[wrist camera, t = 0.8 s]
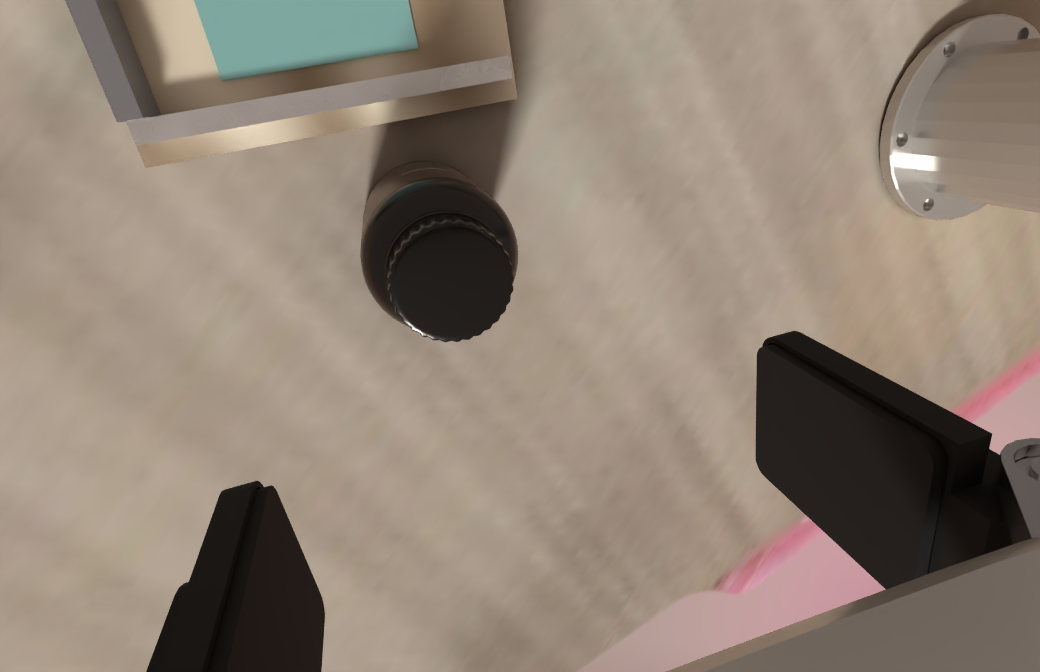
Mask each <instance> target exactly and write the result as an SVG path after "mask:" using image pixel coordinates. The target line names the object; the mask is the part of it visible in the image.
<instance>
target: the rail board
mask: <svg viewBox="0 0 1040 672" xmlns="http://www.w3.org/2000/svg"><path fill="white" fill-rule="evenodd" d="M65 1H66V3H67V6H68V8H69V11H70V13H71V15H72V18H73V20H74V22H75V25H76V27H77V29H78V32H79V34H80V36H81V39H82V41H83V43H84V46H85V48H86V50H87V53H88V55H89V57H90V60H91V62H92V64H93V67H94V69H95V71H96V74H97V76H98V78H99V81H100V83H101V85H102V88H103V90H104V92H105V95H106V97H107V99H108V102H109V104H110V106H111V109H112V111H113V114H114V116H115V118H116V121H117V122H127V125H128V127H129V129H130V132H131V134H132V137H133V139H134V141H135V144H136V146H137V148H138V151H139V153H140V156H141V158H142V160H143V163H144V165H145V167H146V168H147V167H153V166H158V165H163V164H169V163H174V162H180V161H185V160H190V159H196V158H201V157H207V156H212V155H217V154H223V153H228V152H234V151H239V150H244V149H250V148H255V147H260V146H266V145H271V144H277V143H282V142H287V141H293V140H298V139H304V138H309V137H314V136H320V135H325V134H331V133H336V132H341V131H347V130H352V129H357V128H363V127H368V126H374V125H379V124H384V123H390V122H395V121H401V120H406V119H411V118H417V117H422V116H428V115H433V114H438V113H444V112H449V111H454V110H460V109H465V108H471V107H476V106H481V105H487V104H492V103H498V102H503V101H508V100H514V99H518V96H517V89H516V83H515V76H514V69H513V63H512V56H511V50H510V43H509V36H508V30H507V23H506V16H505V10H504V3H503V0H65Z"/></svg>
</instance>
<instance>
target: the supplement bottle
mask: <svg viewBox="0 0 1040 672" xmlns="http://www.w3.org/2000/svg"><path fill="white" fill-rule="evenodd" d="M361 265H362V271H363V275H364V278H365V282H366V284H367V286H368V289H369V291H370V293H371V294H372V296H373V297H374V299H375V300H376V302H377V303H378V304H379V305H380V307H381V308H382V309H383V310H384V311H385V312H386V313H388V314H389V315H390V316H391V317H393V318H394V319H396V320H397V321H399V322H400V323H402V324H404V325H406V326H409V327H410V328H411V329H412V330H413V331H416V332H419V333H420V335H422V336H423V337H429V338H431V339H432V340H441V341H444V342H448V341H455V342H458V341H460V340H462V339H465V340H469V339H471V338H472V337H473V336H478V335H480V334H481V333H482V332H483V331H484V330H488V329H490V328H491V326H492V324H493V323H495V322H497V321H498V320H499V318H500V315H501V314H503V313H504V312H505V310H506V305H507V304H508V303H509V302H510V295H511V293H512V291H513V285H512V284H513V282H514V279H515V276H516V271H517V265H518V245H517V240H516V236H515V232H514V229H513V227H512V224H511V222H510V221H509V219H508V217H507V215H506V214H505V212H504V211H503V209H502V208H501V207H500V206H499V204H498V203H497V202H496V201H495V200H494V199H493V198H492V197H491V196H489V195H488V194H487V193H486V192H485V191H483V190H482V189H481V188H480V187H479V186H477V185H476V184H475V183H474V182H473V181H471V180H470V179H469V178H468V177H466V176H465V175H464V174H462V173H461V172H459V171H458V170H456V169H454V168H452V167H450V166H448V165H445V164H442V163H437V162H431V161H418V162H412V163H407V164H404V165H402V166H399V167H397V168H395V169H393V170H392V171H390V172H389V173H387V174H386V175H385V176H384V177H383V178H382V179H381V180H380V181H379V182H378V183H377V184H376V186H375V187H374V188H373V190H372V192H371V193H370V195H369V198H368V200H367V203H366V206H365V210H364V216H363V226H362V239H361Z"/></svg>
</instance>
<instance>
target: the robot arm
mask: <svg viewBox="0 0 1040 672" xmlns="http://www.w3.org/2000/svg"><path fill="white" fill-rule="evenodd" d="M880 166H881V171H882V176H883V180H884V183H885V185H886V187H887V189H888V192H889V194H890V195H891V196H892V198H893V199H894V200H895V202H896V203H897V204H898V205H899V206H900V207H902V208H903V209H904V210H906V211H907V212H908V213H911V214H914V215H916V216H919V217H923V218H928V219H934V220H951V219H955V218H959V217H963V216H966V215H968V214H970V213H972V212H975V211H977V210H979V209H980V208H982V207H983V206H985V205H986V204H989V205H995V206H1001V207H1007V208H1013V209H1019V210H1025V211H1031V212H1037V213H1040V33H1039V32H1038V31H1037V30H1036V28H1035V27H1034V26H1033V25H1032V24H1031V23H1029V22H1027V21H1026V20H1024V19H1022V18H1021V17H1018V16H1013V15H1009V14H990V15H984V16H978V17H973V18H968V19H966V20H964V21H961V22H959V23H957V24H954V25H952V26H951V27H949V28H948V29H946V30H945V31H943V32H942V33H940V34H939V35H938V36H936V37H935V38H934V39H933V40H932V41H931V42H930V43H929V44H928V45H927V46H926V47H924V48H923V49H922V50H921V52H920V53H919V54H918V55H917V57H916V58H915V59H914V60H913V62H912V63H911V64H910V65H909V67H908V68H907V70H906V71H905V73H904V75H903V76H902V78H901V80H900V81H899V83H898V85H897V86H896V89H895V91H894V93H893V96H892V98H891V100H890V103H889V105H888V108H887V111H886V115H885V119H884V122H883V126H882V132H881V140H880ZM991 437H992V433H990V432H988V431H986V430H984V429H982V428H980V427H978V426H976V425H974V424H973V423H971V422H969V421H967V420H965V419H963V418H961V417H959V416H957V415H956V414H954V413H952V412H950V411H948V410H946V409H944V408H942V407H940V406H938V405H937V404H935V403H933V402H931V401H929V400H927V399H925V398H923V397H921V396H920V395H918V394H916V393H914V392H912V391H910V390H908V389H906V388H904V387H902V386H901V385H899V384H897V383H895V382H893V381H891V380H889V379H887V378H885V377H884V376H882V375H880V374H878V373H876V372H874V371H872V370H870V369H868V368H866V367H865V366H863V365H861V364H859V363H857V362H855V361H853V360H851V359H849V358H848V357H846V356H844V355H842V354H840V353H838V352H836V351H834V350H832V349H830V348H829V347H827V346H825V345H823V344H821V343H819V342H817V341H815V340H813V339H812V338H810V337H808V336H806V335H804V334H802V333H800V332H797V331H791V332H788V333H784V334H781V335H777V336H773V337H770V338H767V339H766V340H765V341H764V343H763V347H761V348H760V349H759V350H758V352H757V390H756V462H757V465H758V468H759V470H760V471H761V473H762V474H763V475H764V476H765V477H766V478H767V479H768V480H769V481H770V482H771V483H772V484H773V485H774V486H775V487H776V488H778V489H779V490H780V491H781V492H782V493H783V494H784V495H785V496H786V497H787V498H788V499H789V500H790V501H792V502H793V503H794V504H795V505H796V506H797V507H798V508H799V509H800V510H801V511H802V512H803V513H804V514H805V515H807V516H808V517H809V518H810V519H811V520H812V521H813V522H814V523H815V524H816V525H817V526H818V527H819V528H821V529H822V530H823V531H824V532H825V533H826V534H827V535H828V536H829V537H830V538H832V539H833V541H835V542H836V543H837V544H838V545H839V546H840V547H841V548H842V549H843V550H844V551H846V553H847V554H849V555H850V556H851V557H852V558H853V559H854V560H855V561H856V562H857V563H858V564H859V565H860V566H861V567H863V568H864V569H865V570H866V571H867V572H868V573H869V574H870V575H871V576H872V577H873V578H874V579H876V580H877V581H878V582H879V583H880V584H881V585H882V586H883V587H884V588H885V589H886V590H884V591H881V592H879V593H876V594H873V595H871V596H868V597H865V598H862V599H859V600H857V601H854V602H851V603H849V604H846V605H843V606H841V607H838V608H835V609H832V610H830V611H827V612H824V613H822V614H819V615H816V616H813V617H811V618H808V619H805V620H802V621H800V622H797V623H794V624H792V625H789V626H786V627H784V628H781V629H778V630H776V631H773V632H770V633H768V634H765V635H763V636H760V637H757V638H755V639H752V640H749V641H746V642H744V643H741V644H738V645H736V646H733V647H730V648H728V649H725V650H722V651H720V652H717V653H715V654H712V655H709V656H706V657H704V658H701V659H698V660H696V661H693V662H691V663H688V664H685V665H683V666H680V667H677V668H675V669H672V670H670V671H667V672H1040V439H1039V438H1038V439H1037V438H1030V439H1022V440H1016V441H1014V442H1012V443H1010V444H1007V445H1006V446H1005V447H1004V448H1003V450H1002V451H1001V454H1000V455H999V454H997V453H995V452H993V451H992V450H990V449H989V446H990V441H991ZM324 622H325V612H324V604H323V600H322V597H321V594H320V592H319V589H318V587H317V585H316V582H315V580H314V578H313V575H312V573H311V570H310V568H309V566H308V563H307V561H306V559H305V556H304V554H303V552H302V549H301V547H300V545H299V542H298V540H297V538H296V535H295V533H294V531H293V528H292V526H291V524H290V521H289V519H288V516H287V514H286V512H285V509H284V507H283V505H282V502H281V500H280V498H279V495H278V493H277V491H276V489H275V488H274V487H273V486H268V487H263V485H262V484H261V483H260V482H259V481H254V482H251V483H247V484H244V485H240V486H236V487H233V488H229V489H226V490H223V491H222V492H221V494H220V496H219V498H218V501H217V504H216V507H215V510H214V513H213V515H212V518H211V521H210V524H209V527H208V530H207V532H206V535H205V538H204V541H203V544H202V547H201V549H200V552H199V555H198V558H197V561H196V564H195V566H194V569H193V572H192V575H191V578H190V580H189V582H187V583H184V584H183V585H182V586H181V587H179V589H178V591H177V592H176V594H175V596H174V599H173V602H172V604H171V607H170V610H169V612H168V615H167V618H166V620H165V623H164V626H163V628H162V631H161V634H160V636H159V639H158V642H157V644H156V647H155V650H154V653H153V655H152V658H151V661H150V663H149V666H148V669H147V671H146V672H321V667H322V652H323V637H324Z"/></svg>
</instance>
